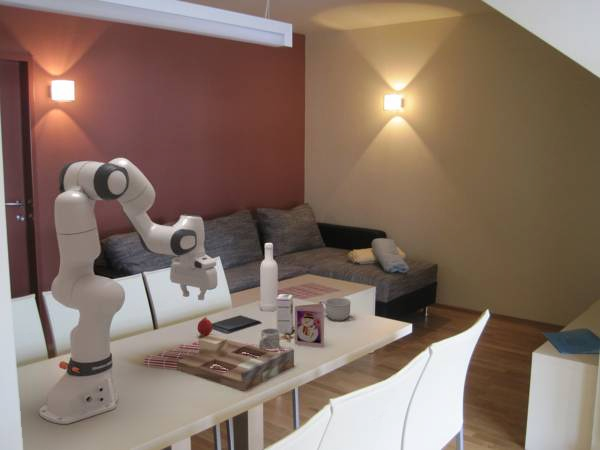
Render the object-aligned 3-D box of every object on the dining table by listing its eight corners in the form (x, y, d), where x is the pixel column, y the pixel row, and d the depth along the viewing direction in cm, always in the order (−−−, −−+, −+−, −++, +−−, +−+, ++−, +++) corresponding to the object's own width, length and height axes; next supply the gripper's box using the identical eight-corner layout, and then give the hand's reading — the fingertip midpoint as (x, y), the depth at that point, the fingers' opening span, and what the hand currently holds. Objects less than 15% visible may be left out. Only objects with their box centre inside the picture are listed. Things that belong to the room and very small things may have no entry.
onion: (209, 339, 244) (209, 319, 243) (195, 338, 245) (195, 318, 244) (214, 334, 250) (214, 315, 248) (200, 333, 251) (200, 314, 250)
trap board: (244, 391, 197) (244, 373, 196) (177, 369, 214) (176, 352, 213) (293, 365, 218) (293, 349, 217) (228, 347, 235) (228, 332, 234)
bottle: (270, 305, 290) (270, 241, 285) (281, 309, 284) (281, 243, 279) (256, 308, 285) (256, 243, 280) (267, 312, 279) (267, 245, 274)
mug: (268, 344, 239) (267, 327, 238) (282, 347, 236) (282, 330, 235) (252, 352, 231) (252, 334, 230) (267, 355, 227) (267, 338, 226)
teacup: (354, 317, 272) (355, 299, 271) (342, 324, 263) (343, 305, 262) (326, 312, 280) (326, 294, 278) (314, 318, 271) (314, 300, 269)
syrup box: (291, 333, 251) (291, 298, 249) (276, 332, 252) (276, 297, 250) (293, 328, 257) (293, 294, 255) (279, 328, 258) (279, 293, 256)
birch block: (215, 357, 217) (215, 343, 216) (198, 352, 221) (198, 339, 221) (227, 352, 222) (227, 339, 221) (210, 348, 226) (210, 334, 226)
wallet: (226, 331, 250) (203, 322, 261) (226, 335, 250) (203, 327, 261) (264, 320, 264) (240, 312, 275) (264, 324, 264) (240, 317, 275)
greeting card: (293, 345, 238) (293, 306, 236) (299, 338, 245) (299, 301, 243) (323, 348, 235) (323, 309, 232) (328, 341, 242) (328, 303, 239)
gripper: (165, 257, 225) (166, 295, 227) (207, 265, 213) (208, 304, 216) (178, 254, 230) (179, 291, 232) (219, 261, 218) (220, 300, 221)
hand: (193, 298), depth 224 cm, fingers open, 6 cm apart
